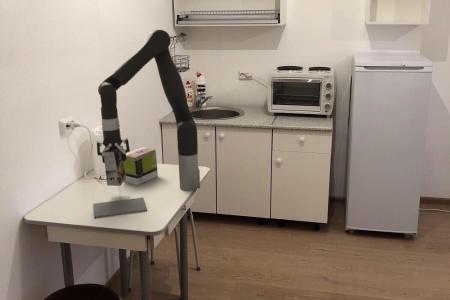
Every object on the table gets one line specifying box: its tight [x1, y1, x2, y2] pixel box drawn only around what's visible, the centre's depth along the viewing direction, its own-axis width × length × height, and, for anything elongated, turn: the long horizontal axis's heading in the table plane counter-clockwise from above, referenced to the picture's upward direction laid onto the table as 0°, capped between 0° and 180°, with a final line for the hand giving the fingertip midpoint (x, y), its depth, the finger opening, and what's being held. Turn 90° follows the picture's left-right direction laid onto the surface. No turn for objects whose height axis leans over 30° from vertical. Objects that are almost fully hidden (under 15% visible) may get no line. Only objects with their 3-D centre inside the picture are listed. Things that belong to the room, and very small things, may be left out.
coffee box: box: [104, 145, 126, 187], centre depth 220 cm, size 9×6×16 cm
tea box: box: [123, 146, 159, 186], centre depth 243 cm, size 15×10×15 cm
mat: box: [93, 196, 148, 219], centre depth 212 cm, size 22×14×1 cm, turn 106°
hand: (114, 162), depth 219 cm, fingers closed on coffee box, 8 cm apart
